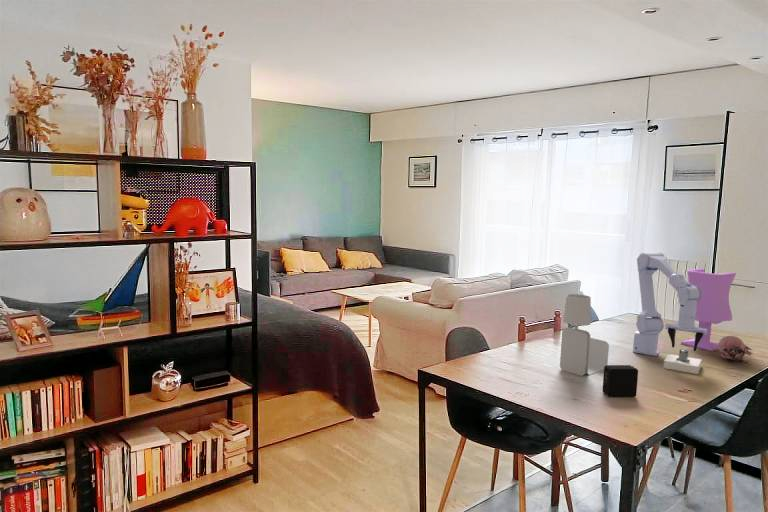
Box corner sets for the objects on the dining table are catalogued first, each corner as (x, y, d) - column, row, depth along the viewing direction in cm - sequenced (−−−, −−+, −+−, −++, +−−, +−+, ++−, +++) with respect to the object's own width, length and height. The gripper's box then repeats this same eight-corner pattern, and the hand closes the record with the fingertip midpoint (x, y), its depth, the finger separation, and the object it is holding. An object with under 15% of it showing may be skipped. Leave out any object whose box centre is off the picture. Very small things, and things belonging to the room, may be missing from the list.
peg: (677, 367, 219) (678, 350, 218) (679, 365, 221) (680, 348, 220) (685, 368, 217) (687, 351, 216) (687, 367, 219) (688, 350, 219)
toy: (760, 365, 219) (750, 353, 233) (753, 340, 219) (744, 330, 233) (727, 370, 224) (719, 358, 238) (720, 345, 224) (713, 335, 237)
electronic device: (602, 393, 188) (604, 365, 187) (629, 392, 189) (631, 365, 187) (608, 397, 184) (610, 369, 182) (636, 397, 184) (638, 368, 183)
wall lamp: (607, 368, 216) (612, 293, 212) (579, 379, 202) (584, 299, 198) (582, 361, 223) (587, 289, 220) (554, 371, 210) (559, 295, 206)
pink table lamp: (729, 347, 251) (736, 272, 247) (712, 352, 242) (720, 274, 238) (694, 339, 264) (700, 268, 260) (677, 343, 255) (684, 270, 251)
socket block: (663, 367, 218) (664, 360, 217) (667, 360, 227) (668, 353, 227) (698, 374, 211) (698, 366, 210) (700, 366, 221) (701, 359, 220)
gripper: (665, 314, 217) (662, 347, 219) (707, 320, 209) (703, 354, 211) (667, 311, 223) (664, 343, 225) (708, 317, 215) (705, 350, 217)
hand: (683, 348), depth 218 cm, fingers open, 7 cm apart
